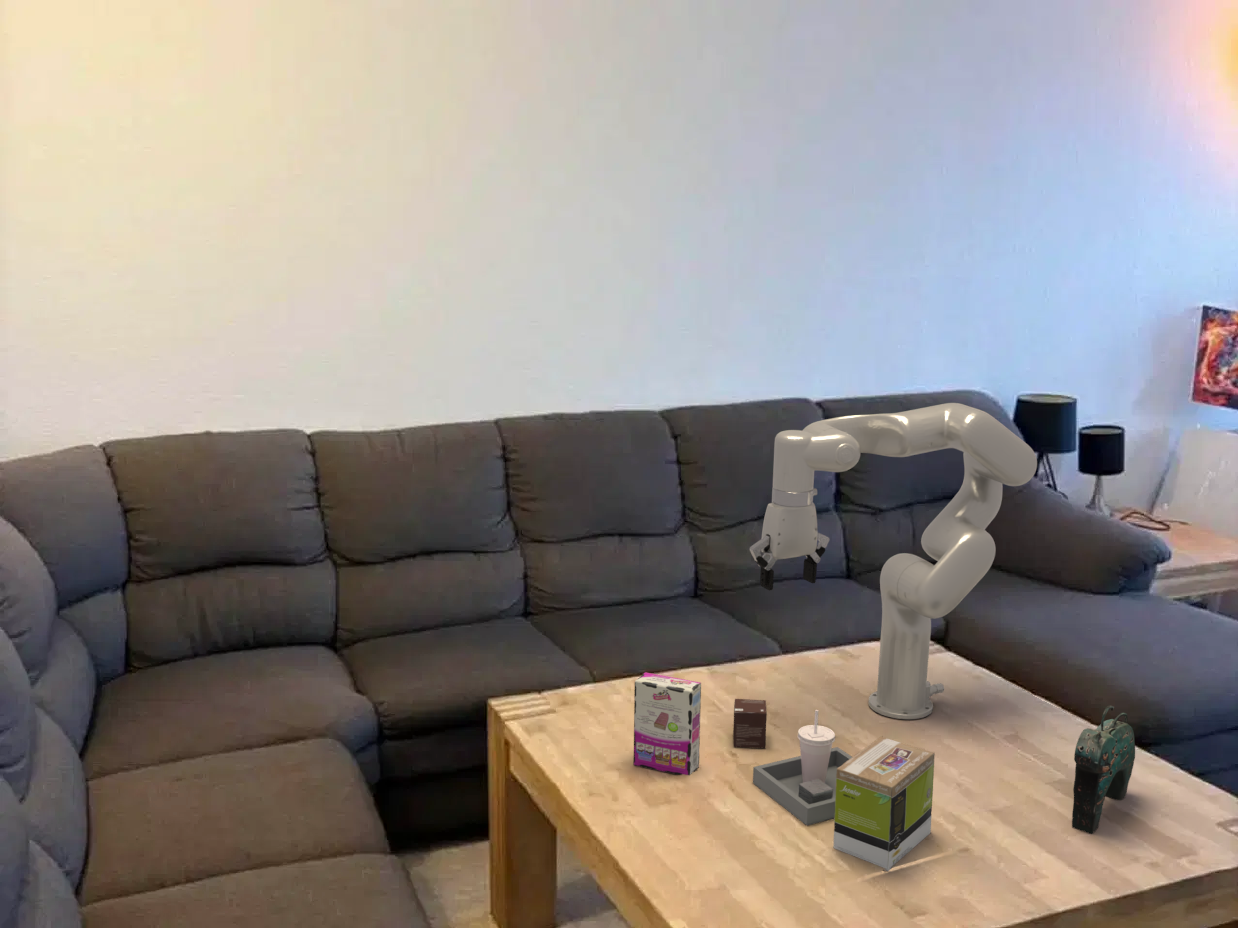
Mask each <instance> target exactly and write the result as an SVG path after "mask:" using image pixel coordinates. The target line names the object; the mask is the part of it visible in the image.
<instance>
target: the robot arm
mask: <svg viewBox="0 0 1238 928" xmlns="http://www.w3.org/2000/svg"><path fill="white" fill-rule="evenodd" d="M773 447H774V448H773V467H772V468H773V471H772V473H773V474H772V491H771V502H770V503H768V504H767V506H766V510H765V514H764V518H763V519H764V520H763V524H762V532H761V539H759V540H758V541H757V542H755V543H753V545H751V546H750V547H749V552H750V553H751V556H752V559H753V561H754V562H755V563H756V564H757V565H758V567H759V568H760V572H759V573H760V579H759V580H760V581H759V582H760V587H761V588H763V589H766V590H767V591H772V590H774V589H773V588H774V577H775V575H774V574H775V572H774V569H772V568H773V567H774V565H775V564H776V562H777V561H778V560H783V559H784V560H785V559H791V558H792V559H793V558H797V557H798V558H799V557H803V556H805V557H806V558H805V559H804V560H803V570H802V571H803V573H802V579H803V580H805V581H807V582H809V583H810V584H816V580H817V569H818V567H817V566H818V563H820V561H821V558H822V556H823V555H824V554H825V552H826V548H827V547H828V544H829V542H830V537H829V536H827V535H824V534H822V533H820V532H819V531H818V517H817V509H816V508H817V507H816V505H815V503H814V502H813V501H814V496H817V495H818V489H817V488H815V487H814V484H815V483H814V481H815V471H818V472H819V471H821V472H829V473H830V472H831V473H842V472H847V471H848V470H850V469H852V468H854V467H855V466H856V465H857V463H859V460H860V458H861V453H862V454H873V455H879V456H884V457H892V458H905V457H911V456H914V455H915V456H916V455H920V454H925V453H930V452H934V451H940V450H945V449H955V450H957V451H960V452H962V453H963V454H962V455H963V465H964V466H963V467H964V473H963V474H964V475H963V482H962V484H961V487H960V488H959V490H958V492H957V493H956V494H955V495H954V497H953V498H952V499H951V500H950V501H949V502H948V503H947V504H946V506H945V507H944V508H943V509H942V510H941V511H940V512H939V514H937V515H936V517H935V518H934V519H932V521H931V522H930V523H929V524H928V526H927V527H926V528H925V529H924V531H923V533H922V535H921V538H920V540H921V541H920V544H921V548H922V549H923V551H924V552H925V553H926V554H927V555H928V556H929V557H931V559H933V560H935V561H937V562H936V563H935V564H933V563H931V562H929V561H928V560H926V559H924V558H922V557H920V556H918V555H916V554H913V553H907V552H906V553H905V552H904V553H903V552H902V553H897V554H895V555H893V556H891V557H889V558H888V559H887V560H886V561H885V563H884V564H883V566H882V568H881V571H880V576H879V584H880V585H879V586H880V587H879V588H880V589H879V590H880V596H881V610H882V611H881V613H882V614H881V628H880V631H881V632H880V641H879V656H878V657H879V659H878V671H877V672H878V673H877V686H876V688H877V689H876V691H874V692H872V693H871V694H870V695H869V697H868V706H869V707H870V708H871V710H873V712H876V713H877V714H879V715H882V716H884V717H887V718H891V719H897V720H918V719H923V718H925V717H928V716H929V715H930V714H932V713H933V709H934V708H933V707H934V704H933V702H932V700H931V699H930V697H933V696H934V695H938V694H942V693H944V692H945V686H944V684H943V683H940V682H939V683H935V684H932V685H931V682H930V681H929V680H927V679H928V669H929V657H930V655H929V654H930V644H931V643H930V641H931V633H932V619H939V618H942V617H945V616H946V615H948V614H949V613H950V612H952V611H953V610H955V608H956V607H957V606H958V605H959V604H960V603H961V601H963V599H964V598H966V597H967V595H968V594H969V593H970V592H971V591H972V590H973V588H975V586H977V584H979V582H980V581H981V580H982V579H983V578H984V576H986V574H988V572H989V570H990V569H991V567H992V565H993V562H994V560H995V557H996V544H995V541H994V538H993V537H992V535H991V534H990V533H989V532H987V530H986V529H987V528H988V526H989V525H990V524H991V522H992V521H993V520H994V519H995V518H996V516H997V514H998V512H999V511H1000V508H1001V505H1002V500H1003V488H1004V487H1003V485H1006V486H1009V487H1019V486H1022V485H1026V484H1027V483H1028V482H1029V481H1031V480H1032V478H1033V477H1034V475H1035V474H1036V471H1037V468H1038V460H1037V455H1036V453H1035V451H1034V449H1033V448H1032V447H1031V446H1030V445H1029V444H1028V443H1026V441H1024V440H1023V439H1021V438H1020V437H1019V436H1018V435H1017V434H1015V433H1014V432H1012V431H1011V429H1009V428H1008V427H1006V426H1005V425H1004V424H1003V423H1001V422H1000V421H999V420H997V419H996V417H994V416H992V415H991V414H989V413H988V412H986V411H984V410H981V409H979V408H976V407H972V406H970V405H969V406H968V405H965V404H963V403H958V402H946V403H941V404H936V405H931V406H925V407H921V408H916V409H915V408H914V409H911V410H906V411H899V412H892V413H891V412H890V413H874V414H855V415H854V414H853V415H845V416H844V415H843V416H838V417H832V418H828V419H827V418H826V419H822V420H818V421H814V422H812V423H810V424H808V425H807V426H805V427H804V428H803V429H802V430H800V429H788V430H787V429H786V430H783V431H780V432H778V433H777V434H776V435H775V437H774V446H773ZM761 553H763V555H762V554H761Z"/></svg>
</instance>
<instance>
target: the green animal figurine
mask: <svg viewBox="0 0 1238 928" xmlns="http://www.w3.org/2000/svg"><path fill="white" fill-rule="evenodd" d="M1114 708H1115V706H1113V705H1108V706H1106V707H1105V708H1104V710H1103V713H1102V714H1101V721H1100V724H1099V725H1098V726H1097V727H1096V729H1094V728H1089V727H1087V728H1084V729H1082V731H1081V733H1080V735H1079V736H1078V739H1077V741H1076V742H1077V743H1076V745H1075V750H1074V757H1073V761H1074V762H1075V769H1074V770H1075V773H1074V782H1073V789H1072V790H1073V805H1072V813H1071V815H1072V816H1071V818H1072V819H1071V827H1072V828H1074V829H1076V830H1078V831H1081V832H1084V833H1087V834H1090V835H1093V834H1094V833H1095V832H1096V831H1097V830H1098V829H1099V826H1100V822H1101V817H1102V812H1103V807H1104V802H1105V799H1106V798H1111V799H1113V800H1116V801H1122V800H1124V799H1125V798H1126V796H1127V792H1128V787H1129V783H1130V779H1131V777H1132V774H1133V768H1134V765H1135V764H1134V763H1135V760H1136V759H1135V758H1136V744H1135V743H1136V741H1135V733H1134V730H1133V727H1132V726H1131V725H1130V724H1128V717H1129V716H1128V714H1127V713H1126V712H1120V714H1118V715H1117V716H1116V717H1115V718H1114V719H1113V718H1111V719H1107V720H1105V717H1106V715H1107V713H1108V711H1109V710H1111V712H1113V710H1115V709H1114ZM1121 717H1124V721H1119V719H1120V718H1121Z"/></svg>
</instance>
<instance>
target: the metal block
mask: <svg viewBox="0 0 1238 928" xmlns="http://www.w3.org/2000/svg"><path fill="white" fill-rule="evenodd" d="M798 796H799V797H800V798H801V799H802V800H804V801H805V802H806V803H808V804H813V803H817V802H821V801H824V800H828V799H832V798H833V789H832V788H831V787H829V786H828V785H826V784H825V783H824V782H822V781H821V780H820V779H816V780H812V781H808V782H804V783H800V784H799V795H798Z"/></svg>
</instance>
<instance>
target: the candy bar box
mask: <svg viewBox="0 0 1238 928" xmlns="http://www.w3.org/2000/svg"><path fill="white" fill-rule="evenodd" d="M701 699H702V682H699V681H696V680H695V681H694V680H688V679H684V678H678V677H674V676H673V677H672V676H667V675H663V674H656V673H651V672H646V671H645V672H644V673H642V675H641V676H639V677H638V678H637V679H636V680H635V681H634V707H633V709H634V710H633V711H634V714H633V715H634V717H633V720H634V721H633V757H632V758H633V760H632V761H633V765H634V766H635V767H641V768H644V769H650V770H655V771H657V772H664V773H668V774H672V775H677V776H682V775H685V776H691V774H692V773H694V772H696V771H698V768H699V767H700V745H701V744H700V740H701V738H700V737H701V736H700V734H701V707H702V706H701V704H702V701H701Z"/></svg>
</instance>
